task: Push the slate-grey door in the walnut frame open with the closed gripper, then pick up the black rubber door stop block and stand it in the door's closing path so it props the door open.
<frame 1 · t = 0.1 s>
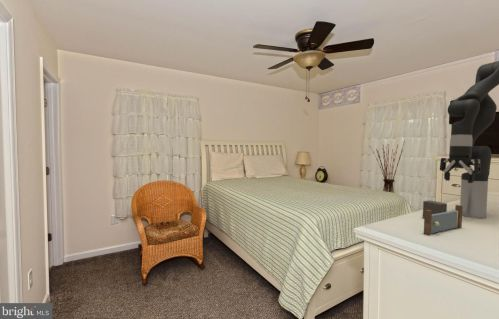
hand: (458, 181, 108), 17 cm above the table, fingers open, 8 cm apart
door: (445, 221, 92), point 4 cm above the table, hinge at 0.0°
stop block: (434, 220, 107), on the table
door frame: (443, 230, 93), on the table
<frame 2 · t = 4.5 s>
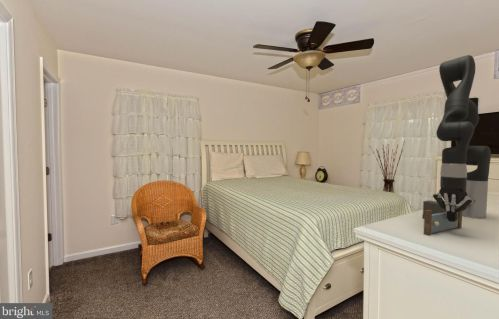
hand: (451, 221, 91), 4 cm above the table, fingers closed
door: (445, 221, 93), point 4 cm above the table, hinge at 0.4°, touching gripper
everything else where it was.
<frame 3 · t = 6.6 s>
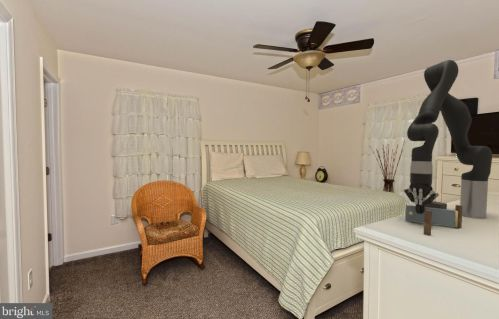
hand: (419, 213, 101), 5 cm above the table, fingers closed
door: (430, 216, 100), point 4 cm above the table, hinge at 55.7°, touching gripper
everything else where it was.
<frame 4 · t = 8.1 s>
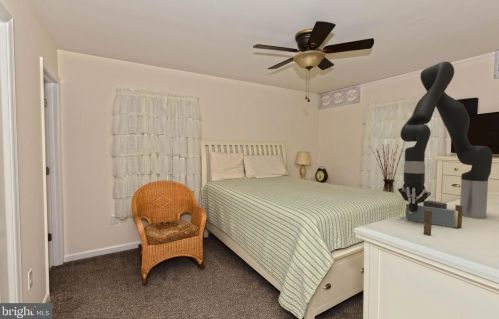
hand: (413, 211, 104), 5 cm above the table, fingers closed
door: (430, 215, 101), point 4 cm above the table, hinge at 64.4°, touching gripper
everything else where it was.
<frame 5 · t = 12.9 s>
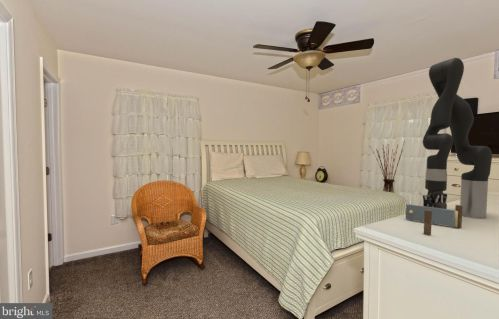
hand: (434, 217, 107), 1 cm above the table, fingers closed on stop block, 4 cm apart
door: (430, 215, 101), point 4 cm above the table, hinge at 64.6°
stop block: (434, 220, 107), on the table, touching gripper
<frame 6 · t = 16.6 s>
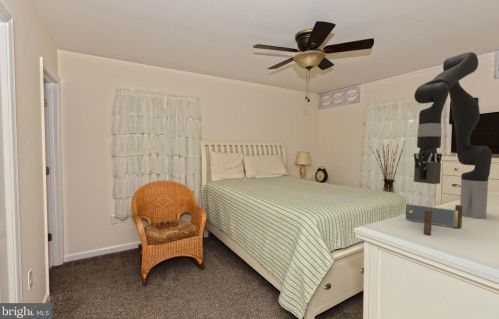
hand: (426, 179, 95), 20 cm above the table, fingers closed on stop block, 4 cm apart
stop block: (426, 182, 95), point 18 cm above the table, touching gripper
everything else where it was.
when the fingers open (3 cm above the table, at t = 20.3 s): stop block drops 1 cm, on the table.
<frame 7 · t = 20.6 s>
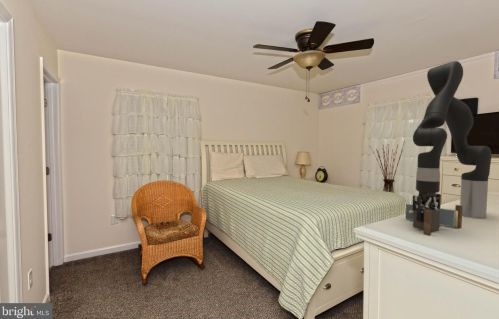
hand: (426, 220, 95), 3 cm above the table, fingers open, 7 cm apart
stop block: (425, 229, 96), on the table
everything else where it was.
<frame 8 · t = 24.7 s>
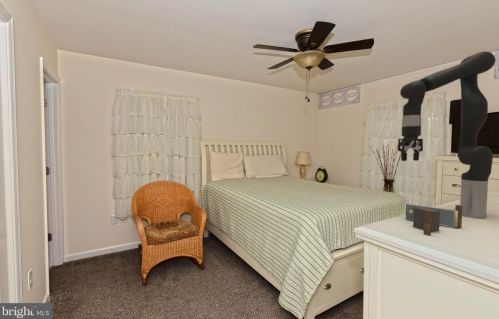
hand: (410, 160, 113), 26 cm above the table, fingers open, 8 cm apart
nothing on the table moved.
at the end: door at +65° (first picture: +0°); stop block inside the target area (0.0 cm from its centre), on the table; stop block tilted 0° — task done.
